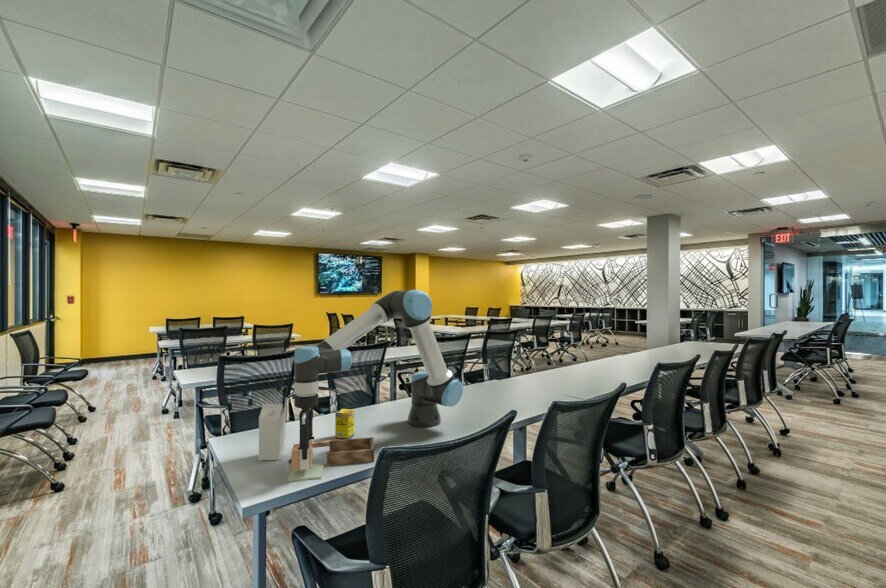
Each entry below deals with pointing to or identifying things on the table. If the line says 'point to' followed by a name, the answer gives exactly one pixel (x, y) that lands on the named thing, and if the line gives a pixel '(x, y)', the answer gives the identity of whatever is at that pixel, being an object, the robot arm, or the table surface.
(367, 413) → the table surface
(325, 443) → the oak crook tool
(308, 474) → the felt pad
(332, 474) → the table surface
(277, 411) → the milk carton
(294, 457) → the terracotta block
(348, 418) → the supplement box
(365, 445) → the walnut stall
